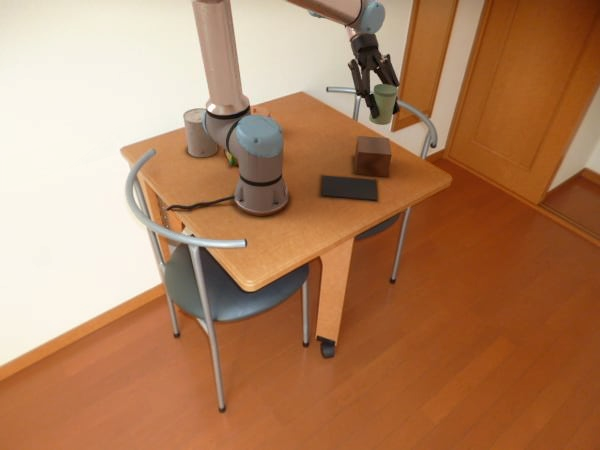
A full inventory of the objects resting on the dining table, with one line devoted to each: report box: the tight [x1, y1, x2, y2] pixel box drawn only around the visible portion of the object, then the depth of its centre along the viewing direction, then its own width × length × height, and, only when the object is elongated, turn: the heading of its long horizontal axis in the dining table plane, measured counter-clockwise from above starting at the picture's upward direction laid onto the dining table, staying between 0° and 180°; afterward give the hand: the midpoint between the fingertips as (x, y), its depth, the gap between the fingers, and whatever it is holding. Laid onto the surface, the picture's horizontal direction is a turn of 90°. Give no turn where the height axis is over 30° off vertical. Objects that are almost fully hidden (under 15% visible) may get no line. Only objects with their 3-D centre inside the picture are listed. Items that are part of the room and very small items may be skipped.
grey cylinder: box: [182, 107, 219, 158], centre depth 134 cm, size 10×10×12 cm
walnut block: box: [353, 135, 393, 177], centre depth 132 cm, size 10×10×8 cm
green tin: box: [368, 83, 399, 126], centre depth 120 cm, size 7×7×10 cm
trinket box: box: [250, 105, 271, 118], centre depth 145 cm, size 11×11×9 cm
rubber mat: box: [321, 175, 378, 202], centre depth 125 cm, size 16×10×1 cm, turn 86°
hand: (386, 115), depth 120 cm, fingers closed on green tin, 6 cm apart
